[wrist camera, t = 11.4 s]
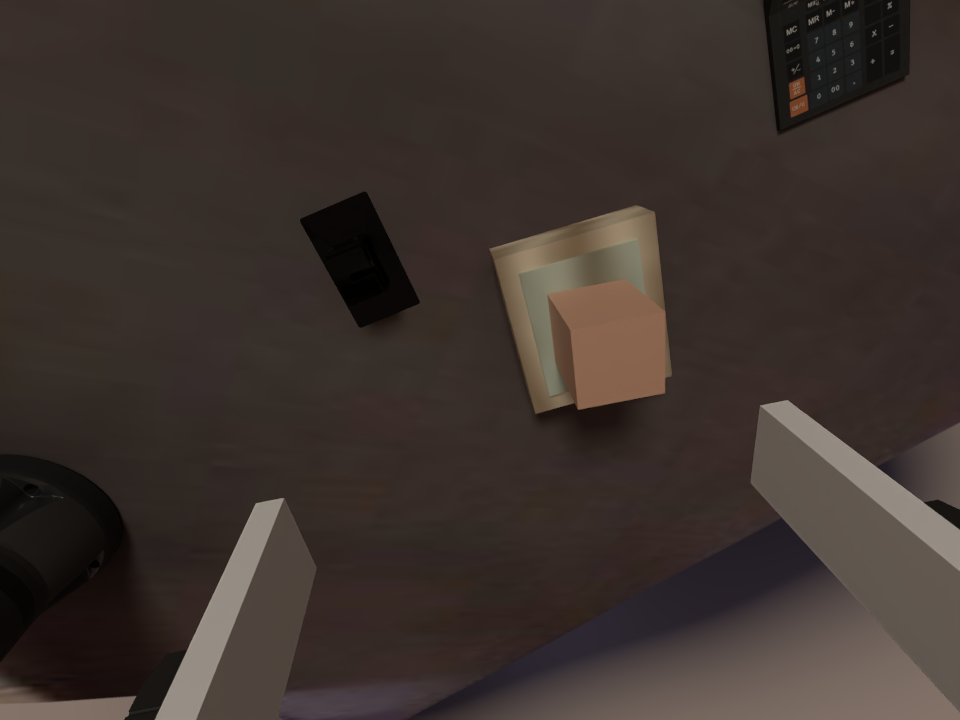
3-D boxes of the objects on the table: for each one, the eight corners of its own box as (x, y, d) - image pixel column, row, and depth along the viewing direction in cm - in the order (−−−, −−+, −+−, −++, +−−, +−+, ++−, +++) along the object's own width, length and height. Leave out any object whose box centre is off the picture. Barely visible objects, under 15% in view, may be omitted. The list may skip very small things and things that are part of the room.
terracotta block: (555, 363, 38) (578, 409, 32) (547, 294, 36) (570, 330, 29) (628, 349, 38) (665, 392, 32) (625, 278, 35) (665, 311, 29)
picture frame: (527, 390, 44) (536, 415, 40) (488, 247, 38) (494, 261, 34) (652, 355, 44) (673, 377, 40) (633, 204, 37) (656, 212, 34)
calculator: (773, 130, 36) (800, 130, 33) (753, -54, 31) (783, -72, 28) (898, 75, 35) (937, 70, 32) (899, -124, 30) (945, -150, 27)
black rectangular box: (435, 312, 40) (434, 333, 36) (357, 343, 41) (348, 367, 37) (367, 166, 35) (357, 171, 31) (279, 204, 35) (258, 214, 31)
